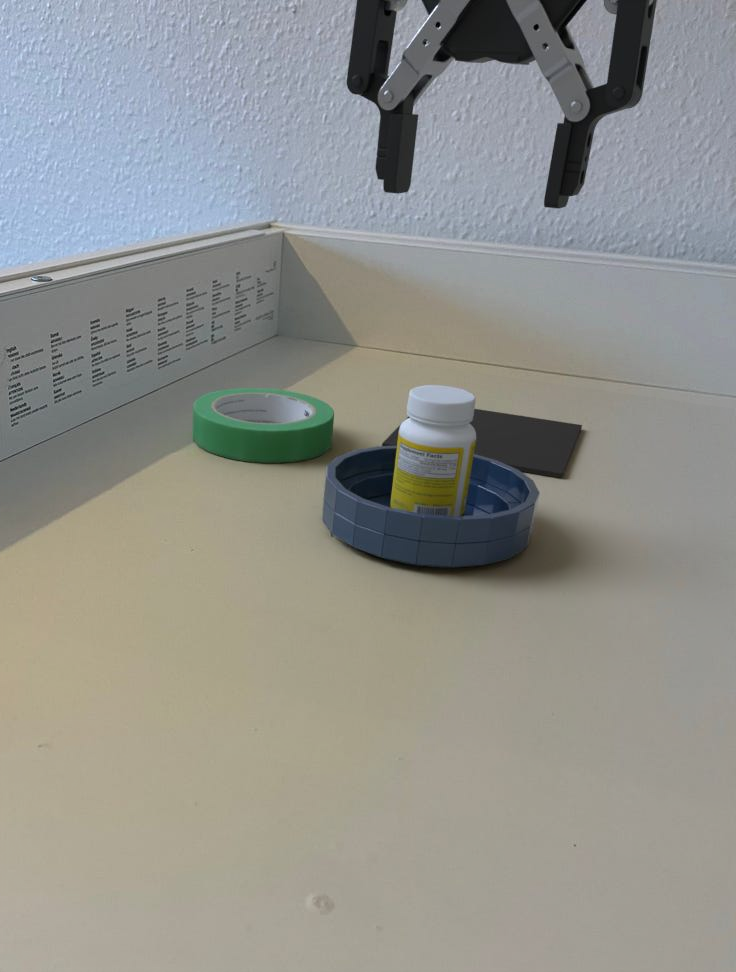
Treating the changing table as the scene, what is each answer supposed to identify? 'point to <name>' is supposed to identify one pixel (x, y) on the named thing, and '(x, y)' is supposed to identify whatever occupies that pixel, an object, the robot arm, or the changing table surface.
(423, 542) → the dish
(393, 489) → the supplement bottle
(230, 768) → the changing table surface
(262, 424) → the tape roll
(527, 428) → the mat
